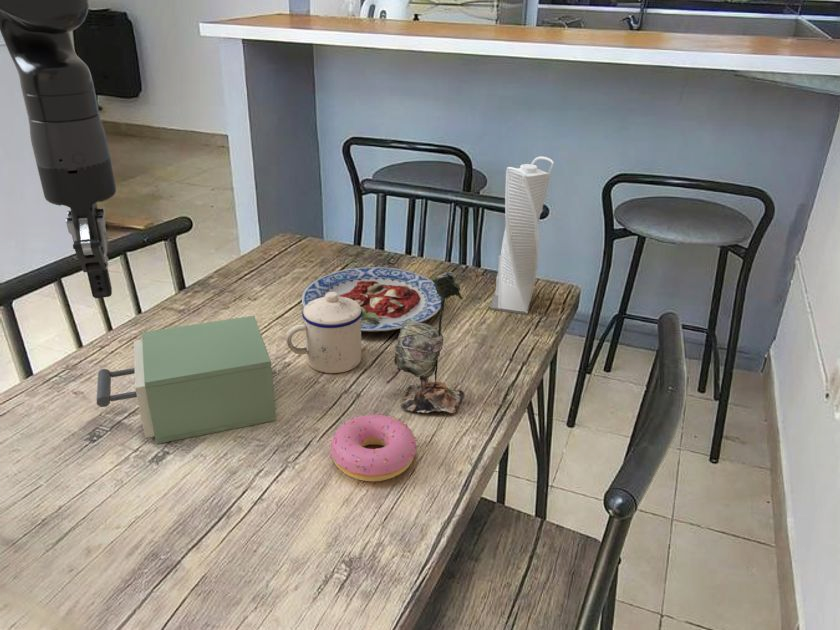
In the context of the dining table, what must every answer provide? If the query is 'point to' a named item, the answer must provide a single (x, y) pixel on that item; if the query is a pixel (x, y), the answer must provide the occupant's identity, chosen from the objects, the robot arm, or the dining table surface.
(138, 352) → the drawer
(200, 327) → the cabinet
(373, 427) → the doughnut
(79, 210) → the robot arm
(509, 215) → the skyscraper
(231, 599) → the dining table surface
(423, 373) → the stone figurine
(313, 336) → the teacup with lid
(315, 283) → the ceramic plate
